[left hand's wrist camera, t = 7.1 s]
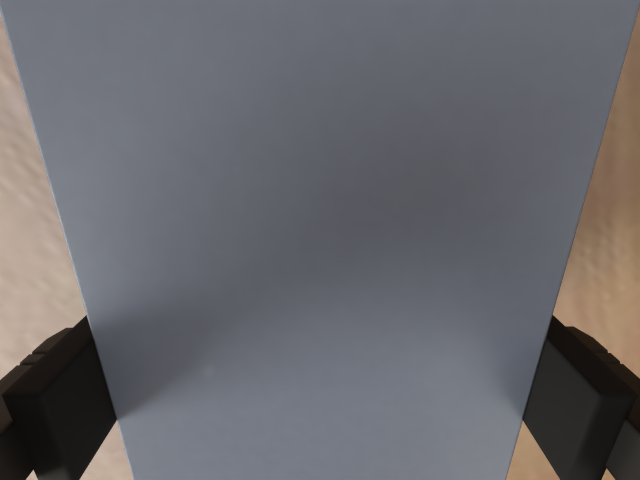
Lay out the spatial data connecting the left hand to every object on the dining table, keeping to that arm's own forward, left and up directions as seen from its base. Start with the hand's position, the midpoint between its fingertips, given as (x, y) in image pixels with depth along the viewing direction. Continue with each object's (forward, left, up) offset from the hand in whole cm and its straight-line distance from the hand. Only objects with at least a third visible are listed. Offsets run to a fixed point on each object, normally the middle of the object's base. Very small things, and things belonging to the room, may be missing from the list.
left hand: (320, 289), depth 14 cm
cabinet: (+5, -1, -4) cm, 7 cm away
